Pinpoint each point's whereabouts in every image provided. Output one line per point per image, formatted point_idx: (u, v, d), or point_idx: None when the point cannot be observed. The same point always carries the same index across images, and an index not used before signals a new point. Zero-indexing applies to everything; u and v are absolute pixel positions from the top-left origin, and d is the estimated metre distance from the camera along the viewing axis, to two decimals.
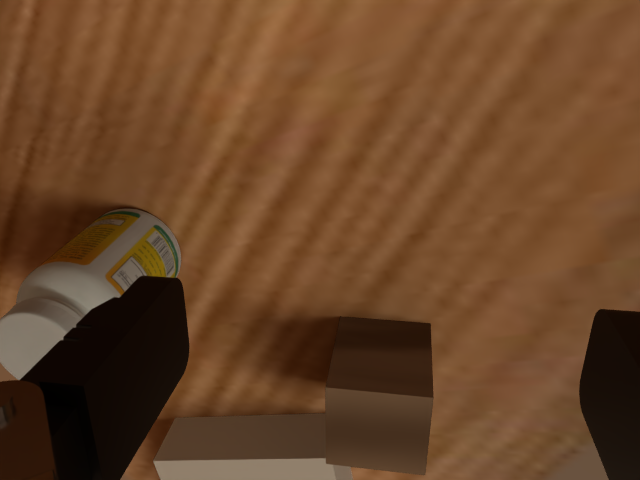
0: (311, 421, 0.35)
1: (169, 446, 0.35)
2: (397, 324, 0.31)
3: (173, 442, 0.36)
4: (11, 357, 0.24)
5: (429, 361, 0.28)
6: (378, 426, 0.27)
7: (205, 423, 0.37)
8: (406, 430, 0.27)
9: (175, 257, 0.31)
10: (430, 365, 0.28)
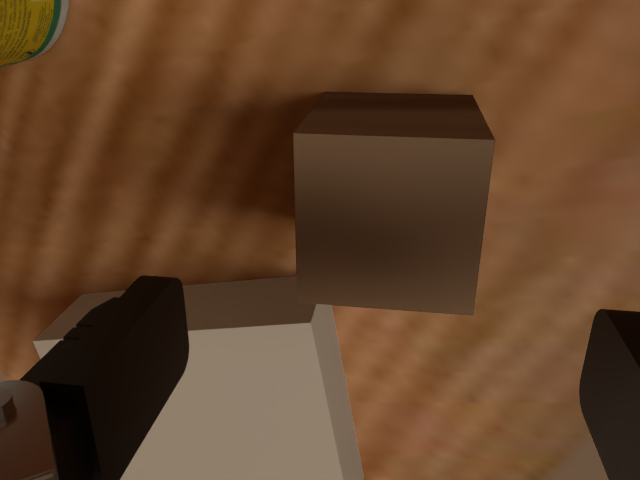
0: (283, 285, 0.23)
1: (63, 324, 0.23)
2: (418, 95, 0.19)
3: (70, 319, 0.23)
4: None
5: (478, 116, 0.16)
6: (391, 214, 0.15)
7: None
8: (441, 219, 0.15)
9: None
10: (481, 119, 0.16)
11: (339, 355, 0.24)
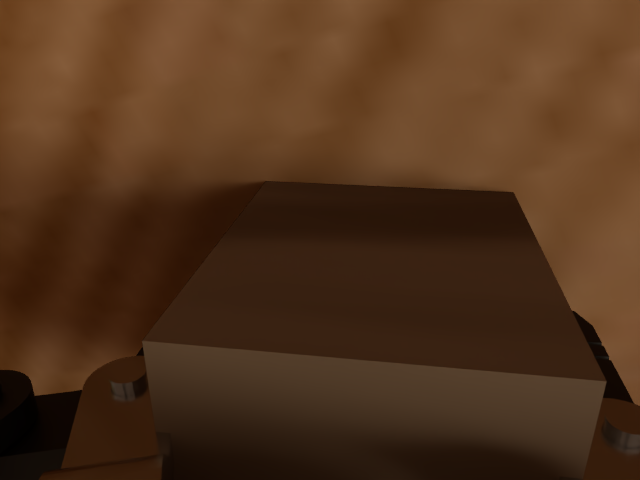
0: None
1: None
2: (421, 194, 0.11)
3: None
4: None
5: (541, 267, 0.08)
6: None
7: None
8: None
9: None
10: (549, 277, 0.08)
11: None
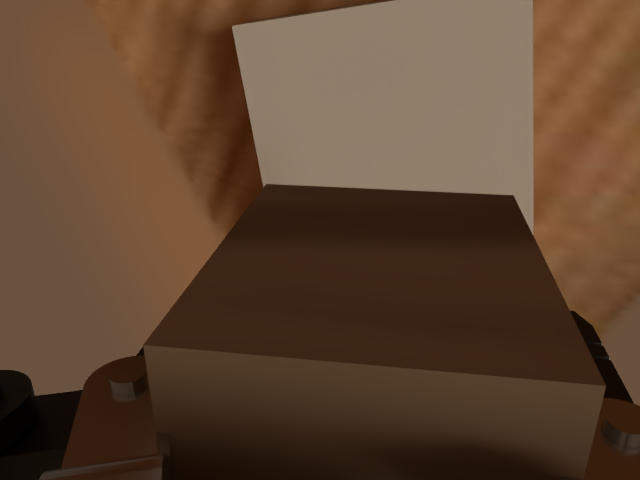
0: None
1: (254, 21, 0.23)
2: (421, 197, 0.11)
3: (260, 20, 0.23)
4: None
5: (541, 270, 0.08)
6: None
7: None
8: None
9: None
10: (549, 281, 0.08)
11: None
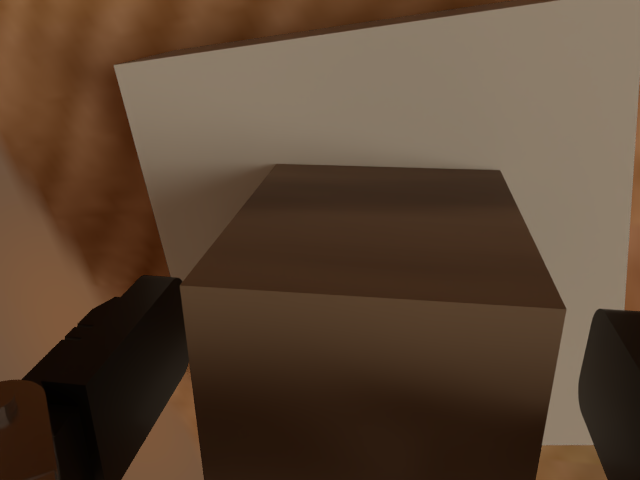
0: None
1: (159, 56, 0.14)
2: (417, 172, 0.12)
3: (170, 54, 0.14)
4: None
5: (520, 228, 0.09)
6: (366, 424, 0.08)
7: (248, 40, 0.15)
8: (460, 437, 0.08)
9: None
10: (526, 235, 0.09)
11: None
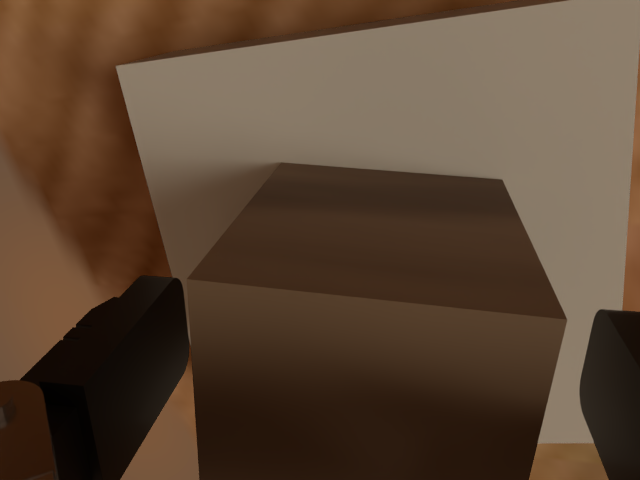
0: (525, 0, 0.14)
1: (160, 57, 0.14)
2: (420, 178, 0.12)
3: (171, 55, 0.14)
4: None
5: (522, 238, 0.10)
6: (363, 423, 0.08)
7: (249, 41, 0.15)
8: (455, 440, 0.08)
9: None
10: (527, 245, 0.09)
11: None
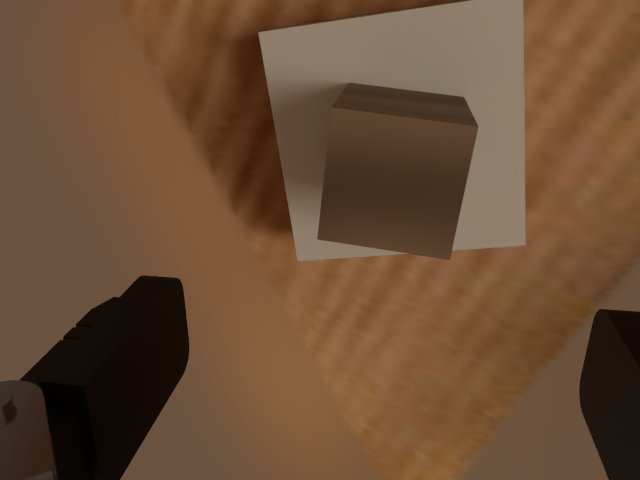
0: None
1: (277, 28, 0.26)
2: (422, 93, 0.24)
3: None
4: None
5: (468, 111, 0.22)
6: (396, 175, 0.20)
7: (321, 21, 0.27)
8: (433, 182, 0.20)
9: None
10: (469, 113, 0.21)
11: None
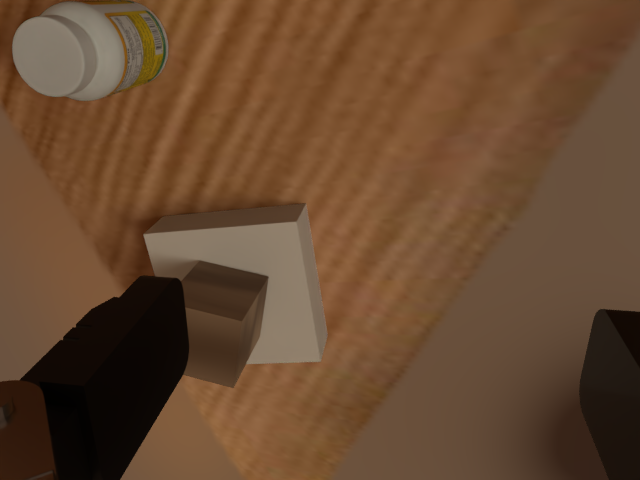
0: (282, 208, 0.40)
1: (158, 227, 0.41)
2: (242, 273, 0.39)
3: (161, 225, 0.41)
4: (26, 64, 0.30)
5: (252, 299, 0.36)
6: (200, 340, 0.35)
7: (190, 215, 0.42)
8: (220, 346, 0.35)
9: (163, 41, 0.37)
10: (252, 302, 0.36)
11: (313, 252, 0.42)
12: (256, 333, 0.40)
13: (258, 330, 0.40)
